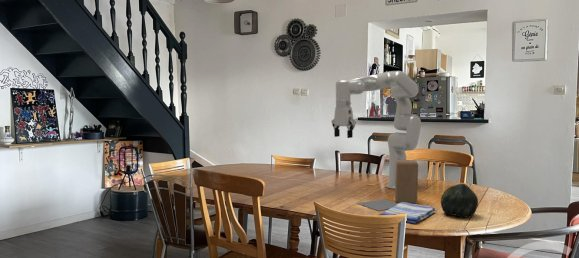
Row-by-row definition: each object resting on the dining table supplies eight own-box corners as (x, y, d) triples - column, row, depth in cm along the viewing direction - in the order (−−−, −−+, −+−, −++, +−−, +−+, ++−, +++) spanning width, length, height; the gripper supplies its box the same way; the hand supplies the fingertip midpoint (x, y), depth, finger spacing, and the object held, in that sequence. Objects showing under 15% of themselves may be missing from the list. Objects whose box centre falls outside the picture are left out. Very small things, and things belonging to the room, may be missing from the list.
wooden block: (417, 204, 206) (418, 162, 205) (395, 203, 208) (396, 161, 207) (415, 200, 216) (416, 160, 215) (394, 198, 218) (396, 159, 217)
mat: (384, 200, 216) (384, 199, 216) (406, 206, 202) (406, 206, 202) (357, 203, 208) (357, 203, 208) (378, 211, 194) (378, 210, 194)
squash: (440, 196, 198) (442, 176, 187) (475, 200, 194) (479, 179, 183) (439, 223, 188) (442, 203, 178) (476, 227, 184) (481, 207, 174)
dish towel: (436, 212, 191) (436, 206, 190) (417, 225, 172) (417, 218, 172) (399, 206, 201) (399, 200, 201) (377, 217, 182) (377, 211, 182)
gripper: (360, 104, 218) (360, 137, 220) (337, 104, 232) (337, 135, 234) (349, 104, 214) (349, 138, 215) (326, 104, 228) (326, 136, 229)
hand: (343, 137), depth 224 cm, fingers open, 9 cm apart
